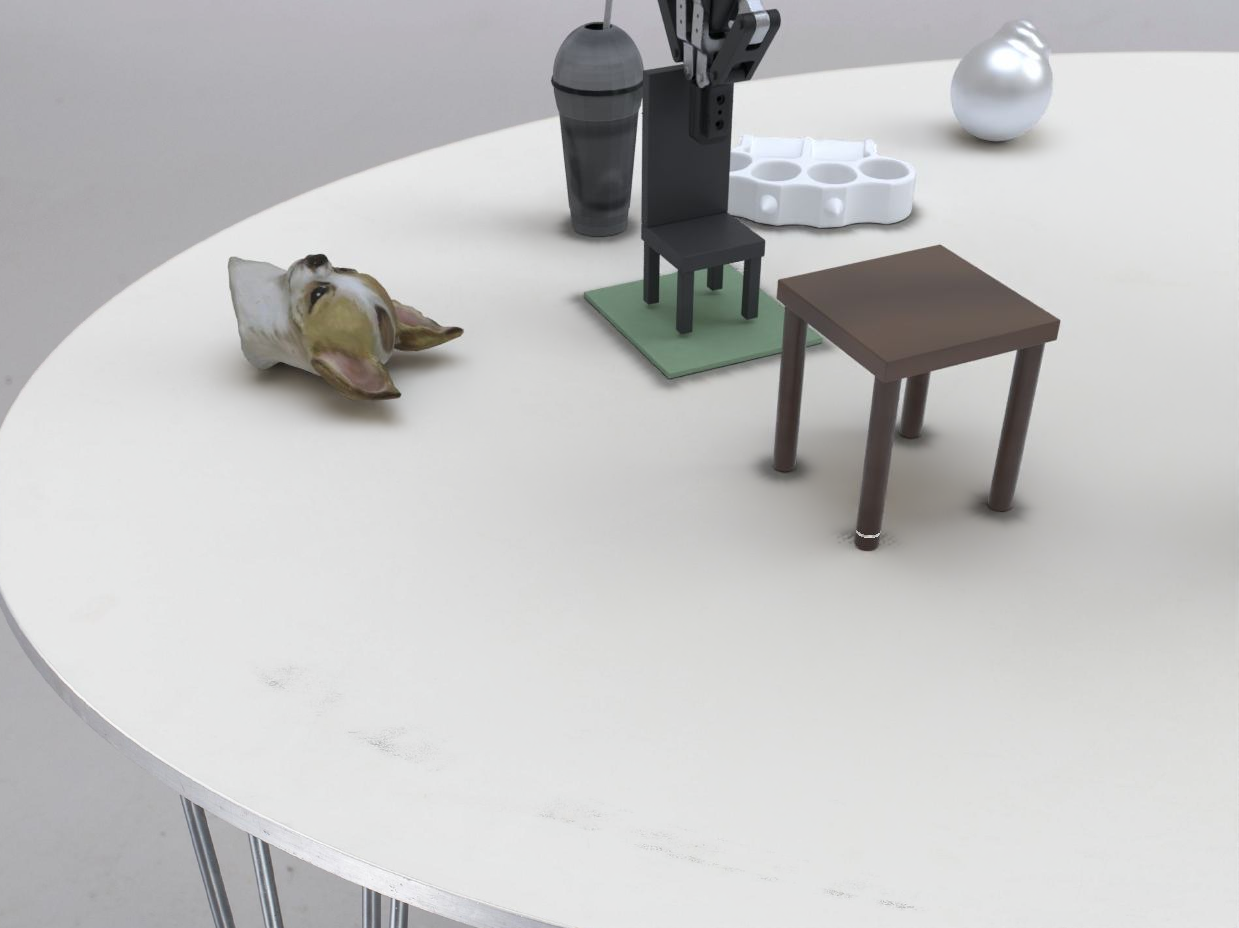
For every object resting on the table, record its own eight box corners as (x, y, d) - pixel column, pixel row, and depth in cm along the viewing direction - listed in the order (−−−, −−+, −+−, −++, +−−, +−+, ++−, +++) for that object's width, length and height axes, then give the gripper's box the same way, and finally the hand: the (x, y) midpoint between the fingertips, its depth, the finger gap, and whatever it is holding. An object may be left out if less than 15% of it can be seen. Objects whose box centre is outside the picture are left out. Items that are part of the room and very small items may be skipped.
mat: (822, 342, 101) (822, 337, 100) (668, 379, 97) (669, 373, 97) (726, 266, 111) (726, 261, 110) (583, 296, 107) (583, 291, 107)
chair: (760, 318, 102) (776, 84, 92) (680, 336, 100) (687, 99, 90) (717, 283, 107) (728, 56, 96) (640, 299, 105) (642, 70, 94)
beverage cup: (572, 203, 121) (567, -56, 108) (655, 213, 119) (660, -49, 106) (541, 237, 115) (532, -32, 103) (628, 248, 113) (629, -24, 101)
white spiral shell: (1067, 149, 129) (1090, 32, 123) (971, 160, 127) (989, 42, 121) (1018, 116, 136) (1038, 3, 129) (926, 126, 134) (941, 12, 127)
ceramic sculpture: (268, 203, 99) (466, 247, 95) (281, 318, 104) (468, 364, 100) (179, 267, 91) (390, 317, 87) (198, 387, 97) (397, 439, 93)
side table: (1021, 508, 84) (1061, 319, 77) (861, 555, 81) (886, 362, 73) (914, 422, 92) (940, 243, 84) (763, 462, 89) (777, 279, 81)
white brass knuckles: (910, 171, 125) (911, 240, 114) (703, 162, 128) (685, 228, 116) (915, 133, 123) (917, 198, 112) (705, 123, 125) (686, 187, 114)
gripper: (835, -142, 81) (809, 164, 92) (722, -180, 90) (710, 101, 101) (717, -129, 78) (704, 183, 89) (614, -170, 88) (613, 118, 99)
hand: (707, 139), depth 95 cm, fingers closed
